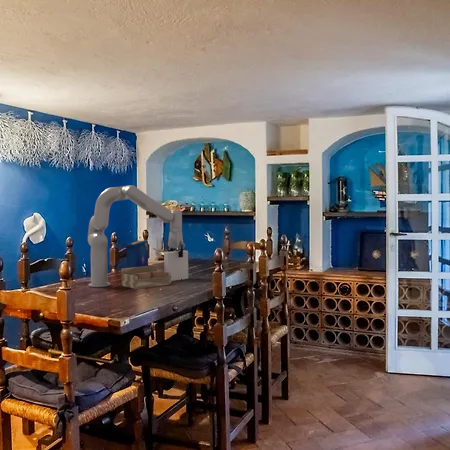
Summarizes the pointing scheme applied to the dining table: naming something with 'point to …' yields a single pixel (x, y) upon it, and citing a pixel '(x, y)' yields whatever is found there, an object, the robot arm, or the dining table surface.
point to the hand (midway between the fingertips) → (176, 256)
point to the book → (137, 254)
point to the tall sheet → (176, 265)
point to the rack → (133, 282)
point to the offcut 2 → (157, 274)
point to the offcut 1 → (143, 275)
